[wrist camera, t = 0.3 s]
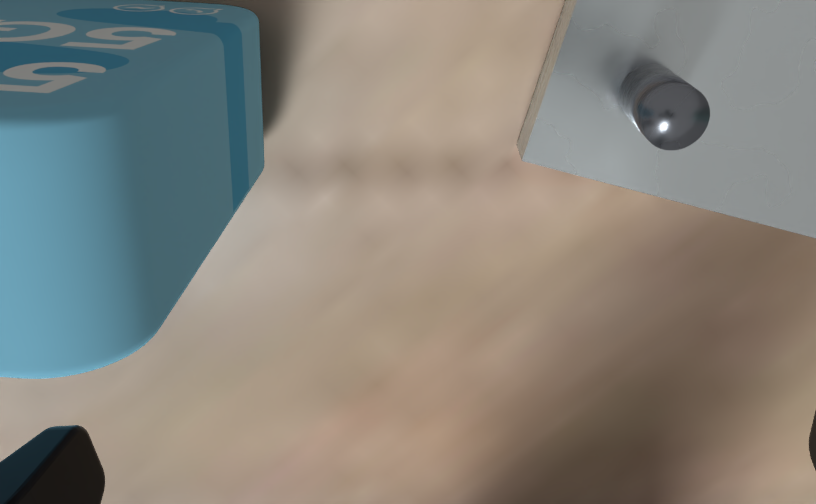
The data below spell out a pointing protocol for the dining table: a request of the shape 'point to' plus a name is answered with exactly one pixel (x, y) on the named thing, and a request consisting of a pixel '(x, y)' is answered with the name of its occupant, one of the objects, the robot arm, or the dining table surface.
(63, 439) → the robot arm
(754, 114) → the plate
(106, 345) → the blue printed box
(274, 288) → the dining table surface
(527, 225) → the dining table surface
